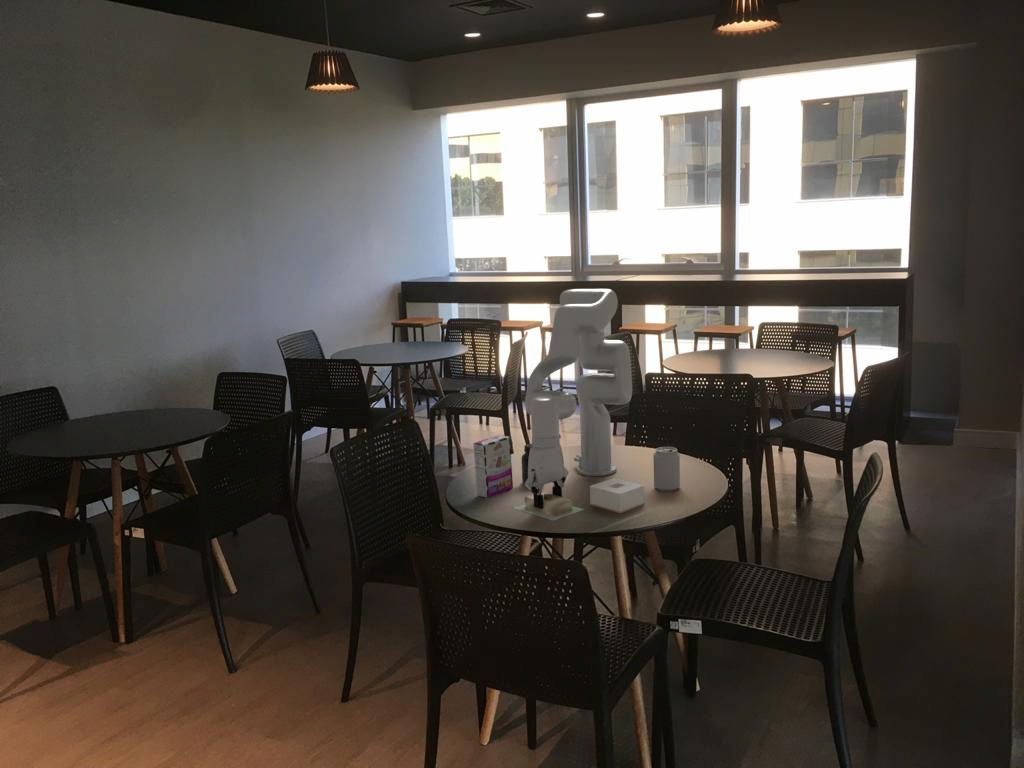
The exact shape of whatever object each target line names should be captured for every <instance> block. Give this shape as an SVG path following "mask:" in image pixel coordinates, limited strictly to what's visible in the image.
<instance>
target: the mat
mask: <svg viewBox="0 0 1024 768" xmlns="http://www.w3.org/2000/svg"><path fill="white" fill-rule="evenodd" d="M513 509H515V510H518V511H521V512H524V513H528V514H532V515H533V516H537V517H540V518H543V519H547V520H549V521H552V522H554V521H556V520H559V519H562V518H565V517H568V516H571V515H573V514H577V513H578V512H582V511H584V510H585V509H584V508H582V507H577V506H573V505H572V511H569V512H566V513H563V514H560V515H558V516H553V515H549V514H546V513H543V512H540V511H537V510H533V509H530V508H527V507H525V503H524V504H520V505H517V506H514V507H513Z"/></svg>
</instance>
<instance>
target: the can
mask: <svg viewBox="0 0 1024 768" xmlns="http://www.w3.org/2000/svg"><path fill="white" fill-rule="evenodd" d="M680 459H681V458H680V453H679V452H678V449H677V448H676V447H673V446H661V447H657V448H655V452H654V453H653V486H654V488H656V490H658V489H659V490H658V491H660V490H662V491H661V492H674V491H676V490H678V489H679V488H680V486H681V477H680V476H681V472H680V468H681V462H680V461H681V460H680ZM673 490H674V491H673Z"/></svg>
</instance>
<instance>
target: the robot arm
mask: <svg viewBox="0 0 1024 768" xmlns="http://www.w3.org/2000/svg"><path fill="white" fill-rule="evenodd" d="M618 301H619V300H618V296H617V294H616V292H615V291H614V290H613V289H610V288H572V289H571V288H570V289H567V290H566V289H565V290H564V291H562V292H561V293H560V296H559V304H560V306H558V307H557V309H556V310H555V313H554V317H553V322H552V330H551V335H550V336H551V337H550V341H549V349H548V352H547V355H546V356H544V358H543V359H541V360H540V362H539V363H538V364H537V365H536V367H535V368H534V369H533V371H531V373H530V375H529V378H528V381H527V385H526V390H525V391H526V392H525V396H524V397H525V399H524V406H525V407H524V408H525V411H526V413H527V414H528V415H530V423H531V425H530V426H531V444H532V448H530V452H529V459H528V479H527V480H526V482H525V485H524V486H525V487H526V488H527V489H528V490H529V491H530V492H531V494H533V495H534V507H536V508H539V509H543V495H542V494H541V493H542V491H543V489H544V485H547V484H550V483H552V484H553V485H552V489H551V491H552V492H551V494H553V495H556V496H560V497H563V490H562V489H563V488H564V484H565V482H566V478H567V477H568V475H569V474H570V471H569V470H568V469H567V468H566V467H565V463H564V462H565V461H564V455H563V448H562V444H560V443H561V441H560V440H561V438H562V436H561V434H560V421H561V420H564V419H565V420H566V419H569V418H570V417H572V416H573V415H574V413H575V412H576V410H577V407H579V425H580V430H579V431H580V453H577V454H576V456H575V457H574V458H573V461H574V462H578V463H579V464H578V465H577V467H576V472H577V474H579V475H583V476H586V477H589V476H590V477H603V476H608V475H609V476H610V475H613V474H615V472H617V466H616V465H615V464H613V463H612V436H611V415H610V413H609V410H608V409H607V408H606V406H605V405H618V406H619V405H621V406H622V405H626V404H629V402H631V399H632V396H633V380H632V379H633V377H632V360H631V351H630V348H629V346H628V344H627V343H626V342H625V341H623V340H619V339H607V338H606V337H605V329H606V327H607V326H608V324H609V323H610V322H611V320H612V319H613V317H614V316H615V314H616V312H617V310H618V303H619V302H618ZM577 361H578V362H579V365H580V367H581V368H582V369H584V370H589V371H609V372H612V373H607V372H606V373H605V372H604V373H601V372H589V373H587V372H586V373H584V374H581V375H580V376H579V377H578V378H577V380H576V382H575V389H576V390H575V392H576V397H577V399H578V400H577V399H576V397H575V395H574V394H573V393H572V392H569V391H560V390H546V389H545V390H544V389H543V390H542V386H543V384H544V382H545V380H546V379H547V378H548V377H549V376H551V375H552V374H553V373H555V372H557V371H559V370H561V369H564V368H566V367H568V366H570V365H573V364H575V362H577ZM577 401H578V402H577ZM577 403H578V406H577ZM533 482H534V483H533ZM532 483H533V484H532Z"/></svg>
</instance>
